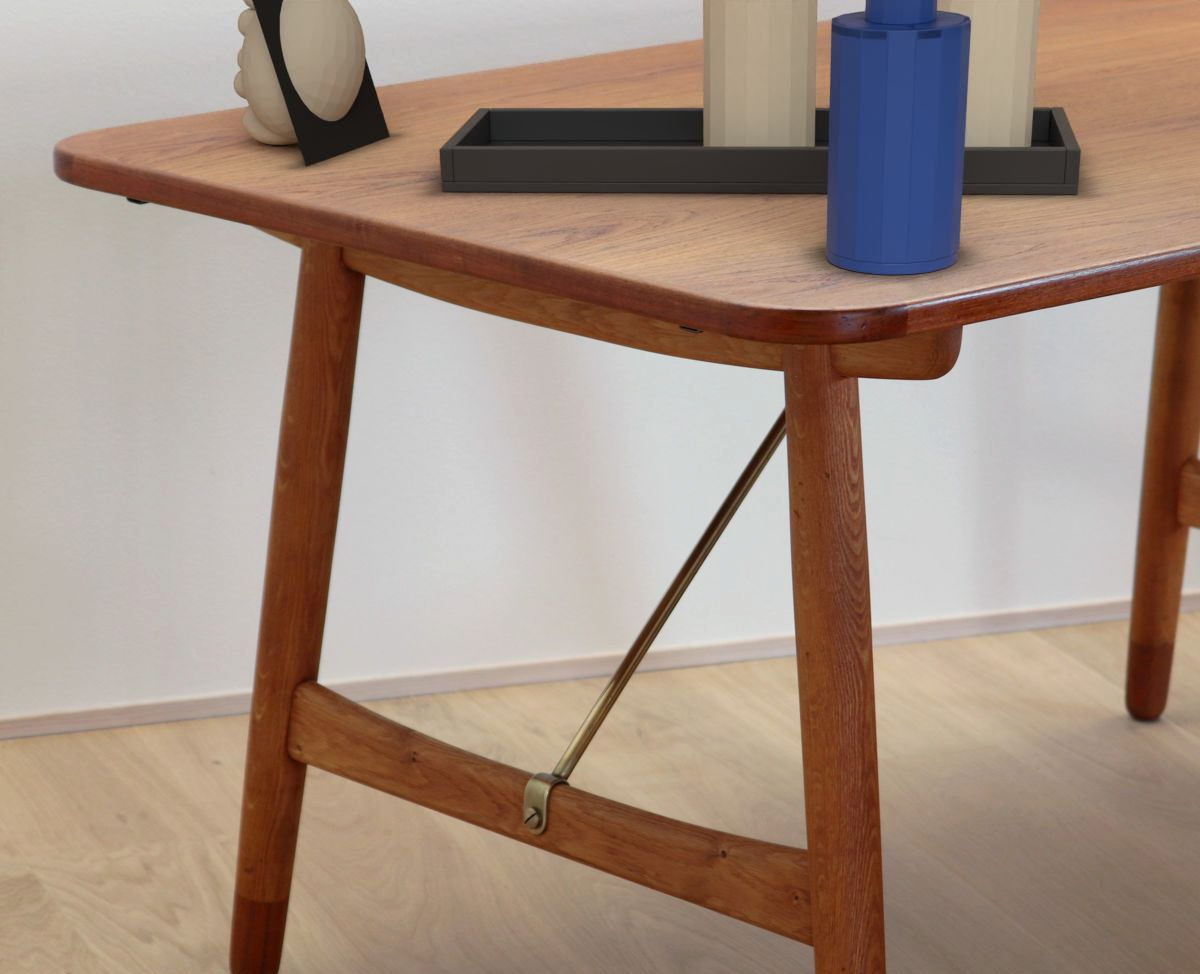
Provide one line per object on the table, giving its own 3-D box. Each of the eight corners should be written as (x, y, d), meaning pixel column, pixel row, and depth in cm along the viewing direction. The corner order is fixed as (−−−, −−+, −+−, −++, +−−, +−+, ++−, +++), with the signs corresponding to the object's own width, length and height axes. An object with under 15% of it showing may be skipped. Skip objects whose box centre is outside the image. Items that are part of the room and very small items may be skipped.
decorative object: (219, 189, 128) (306, 159, 136) (340, 157, 122) (423, 127, 131) (154, -5, 124) (247, -24, 132) (275, -47, 119) (364, -65, 127)
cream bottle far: (1051, 170, 117) (1072, -118, 110) (976, 188, 114) (992, -109, 107) (967, 153, 122) (982, -124, 115) (892, 170, 118) (902, -115, 111)
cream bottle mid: (836, 169, 119) (844, -114, 112) (755, 187, 115) (757, -105, 108) (762, 152, 124) (764, -120, 117) (681, 169, 120) (679, -111, 113)
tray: (1060, 148, 123) (1063, 106, 122) (1077, 194, 111) (1081, 149, 110) (481, 147, 128) (479, 107, 127) (441, 191, 116) (438, 148, 115)
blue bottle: (985, 257, 100) (1005, -79, 93) (893, 282, 96) (906, -66, 89) (890, 233, 105) (902, -87, 98) (799, 256, 101) (804, -75, 94)
